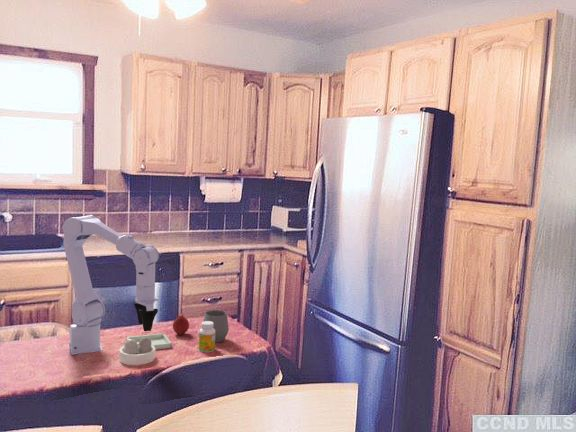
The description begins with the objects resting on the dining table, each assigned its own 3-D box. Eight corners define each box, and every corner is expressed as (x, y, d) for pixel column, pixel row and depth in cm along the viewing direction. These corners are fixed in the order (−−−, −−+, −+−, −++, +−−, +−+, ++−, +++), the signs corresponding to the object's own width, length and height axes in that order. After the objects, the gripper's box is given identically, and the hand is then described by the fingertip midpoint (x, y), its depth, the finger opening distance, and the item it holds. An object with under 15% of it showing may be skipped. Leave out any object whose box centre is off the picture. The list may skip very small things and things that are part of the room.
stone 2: (140, 359, 170) (140, 340, 169) (137, 355, 173) (137, 336, 172) (152, 358, 172) (152, 338, 171) (149, 354, 175) (149, 335, 174)
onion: (186, 338, 193) (187, 316, 192) (170, 337, 193) (171, 315, 193) (190, 333, 199) (190, 312, 198) (174, 332, 199) (175, 311, 198)
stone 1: (128, 361, 168) (127, 342, 167) (122, 358, 170) (122, 339, 170) (139, 359, 170) (139, 339, 170) (133, 355, 173) (133, 336, 172)
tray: (132, 353, 176) (132, 347, 176) (126, 342, 186) (126, 337, 186) (171, 348, 182) (171, 343, 182) (163, 338, 192) (163, 333, 192)
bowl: (122, 368, 164) (122, 357, 164) (116, 356, 174) (116, 345, 173) (158, 363, 169) (158, 352, 169) (150, 352, 179) (150, 341, 178)
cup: (231, 337, 196) (232, 310, 195) (224, 346, 187) (224, 318, 186) (206, 335, 198) (207, 308, 197) (197, 343, 189) (198, 315, 188)
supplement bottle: (195, 352, 180) (196, 323, 179) (203, 347, 185) (204, 319, 184) (209, 354, 179) (210, 326, 178) (217, 349, 184) (218, 321, 183)
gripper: (163, 289, 165) (162, 332, 167) (153, 279, 178) (152, 319, 179) (140, 291, 162) (139, 335, 163) (131, 280, 175) (130, 321, 176)
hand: (144, 327), depth 171 cm, fingers open, 7 cm apart
